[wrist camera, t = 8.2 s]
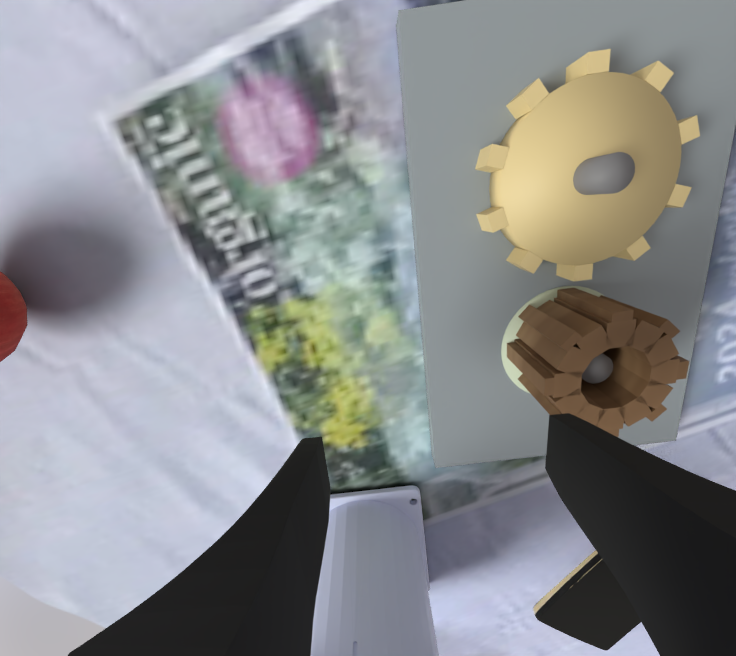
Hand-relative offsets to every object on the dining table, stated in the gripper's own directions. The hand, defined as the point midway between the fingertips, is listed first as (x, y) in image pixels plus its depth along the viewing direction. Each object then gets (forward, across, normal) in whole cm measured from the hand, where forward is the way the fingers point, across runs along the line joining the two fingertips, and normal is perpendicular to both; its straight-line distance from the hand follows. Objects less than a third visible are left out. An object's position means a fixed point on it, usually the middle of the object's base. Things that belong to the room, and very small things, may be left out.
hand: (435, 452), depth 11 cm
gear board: (+9, -8, -4) cm, 12 cm away
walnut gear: (+8, -8, 0) cm, 11 cm away
